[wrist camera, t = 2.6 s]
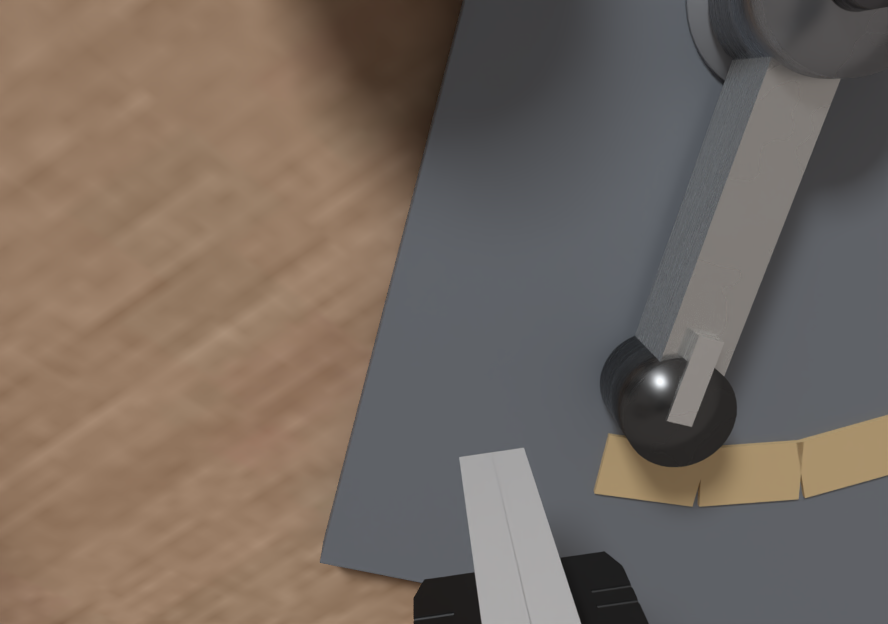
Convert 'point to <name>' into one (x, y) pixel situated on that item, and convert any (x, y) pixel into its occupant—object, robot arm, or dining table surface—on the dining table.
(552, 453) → the dial board
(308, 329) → the dining table surface
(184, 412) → the dining table surface
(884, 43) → the needle lever
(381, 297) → the dining table surface
